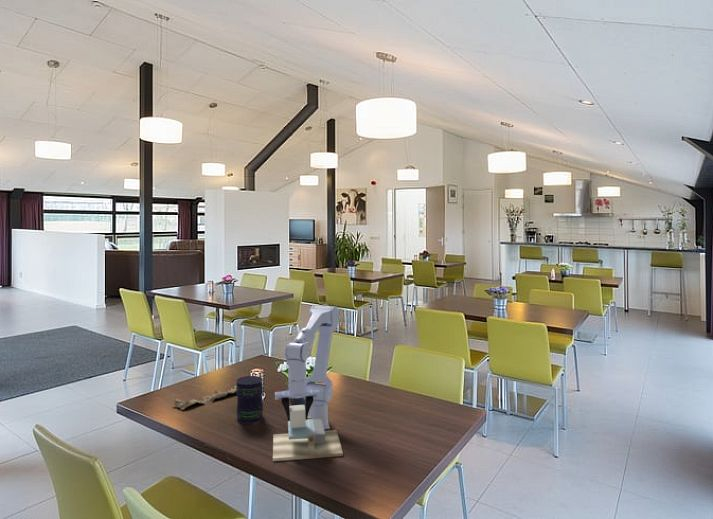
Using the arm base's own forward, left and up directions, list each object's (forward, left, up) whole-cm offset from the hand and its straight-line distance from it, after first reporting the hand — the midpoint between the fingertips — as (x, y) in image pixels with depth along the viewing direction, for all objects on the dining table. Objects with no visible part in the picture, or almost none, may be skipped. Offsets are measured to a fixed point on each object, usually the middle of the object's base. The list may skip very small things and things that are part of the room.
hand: (297, 419), depth 154 cm
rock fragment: (-52, -33, -10) cm, 62 cm away
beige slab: (0, +3, -9) cm, 10 cm away
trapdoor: (0, +3, -6) cm, 7 cm away
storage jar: (-26, -17, -10) cm, 33 cm away
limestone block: (0, 0, -2) cm, 2 cm away
